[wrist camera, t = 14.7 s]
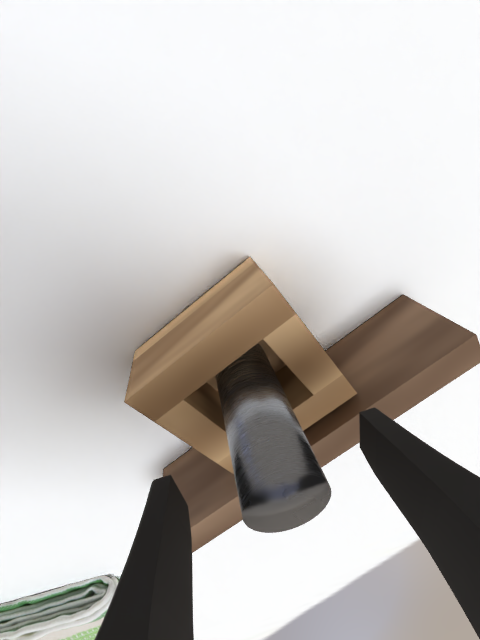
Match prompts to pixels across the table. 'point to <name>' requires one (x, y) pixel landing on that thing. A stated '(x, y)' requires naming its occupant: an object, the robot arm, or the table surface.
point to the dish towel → (59, 612)
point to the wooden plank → (343, 422)
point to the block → (230, 361)
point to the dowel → (268, 448)
